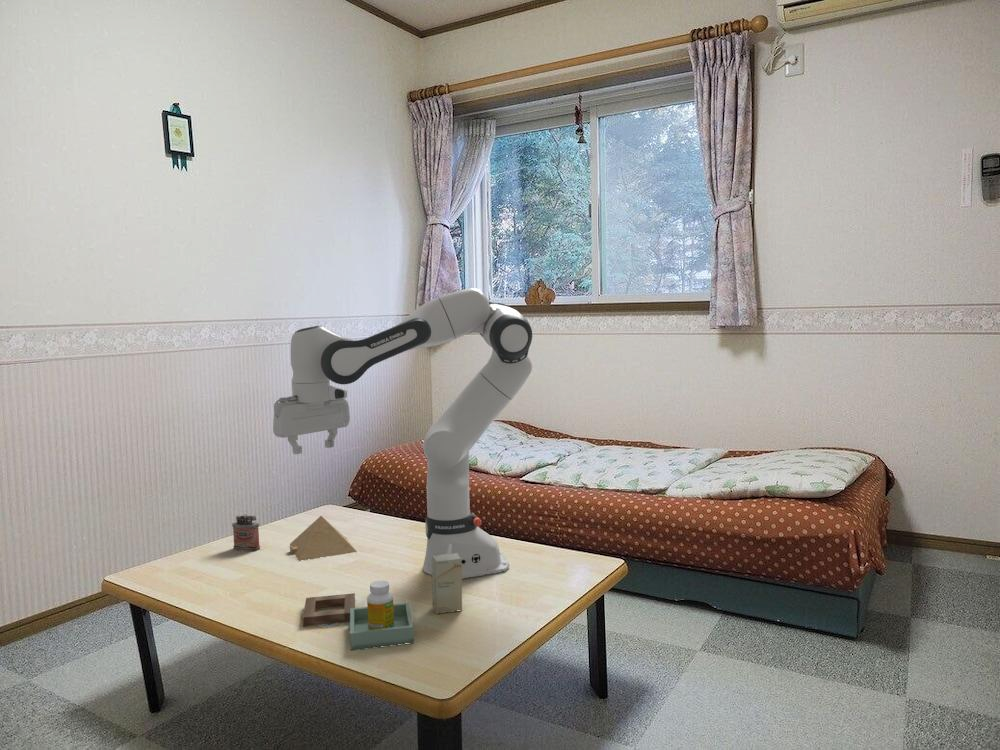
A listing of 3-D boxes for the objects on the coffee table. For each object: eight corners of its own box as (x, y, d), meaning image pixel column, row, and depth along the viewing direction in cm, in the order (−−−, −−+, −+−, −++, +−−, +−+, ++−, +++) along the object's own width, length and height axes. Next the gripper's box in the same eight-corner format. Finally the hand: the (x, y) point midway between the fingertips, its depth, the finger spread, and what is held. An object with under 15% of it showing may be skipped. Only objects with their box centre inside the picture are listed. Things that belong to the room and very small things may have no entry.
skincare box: (435, 614, 161) (434, 561, 160) (431, 607, 165) (430, 555, 164) (463, 611, 162) (462, 558, 161) (458, 603, 167) (457, 552, 166)
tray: (409, 617, 159) (408, 602, 159) (414, 643, 147) (413, 626, 147) (351, 623, 157) (350, 608, 157) (350, 650, 145) (350, 633, 144)
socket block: (355, 601, 169) (354, 593, 169) (355, 621, 158) (354, 612, 158) (306, 606, 167) (306, 597, 167) (303, 626, 156) (302, 617, 156)
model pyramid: (285, 546, 212) (284, 512, 211) (344, 537, 219) (343, 504, 218) (295, 563, 197) (293, 527, 196) (358, 553, 204) (356, 518, 203)
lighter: (231, 550, 208) (229, 516, 207) (238, 546, 211) (236, 512, 210) (256, 551, 206) (254, 517, 205) (262, 547, 209) (260, 514, 208)
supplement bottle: (389, 635, 149) (387, 589, 148) (364, 633, 150) (362, 588, 149) (397, 624, 154) (396, 579, 153) (373, 622, 155) (372, 578, 154)
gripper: (282, 399, 164) (285, 459, 165) (352, 390, 180) (354, 445, 181) (265, 397, 168) (268, 456, 169) (336, 388, 184) (338, 442, 185)
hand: (313, 450), depth 175 cm, fingers open, 8 cm apart
